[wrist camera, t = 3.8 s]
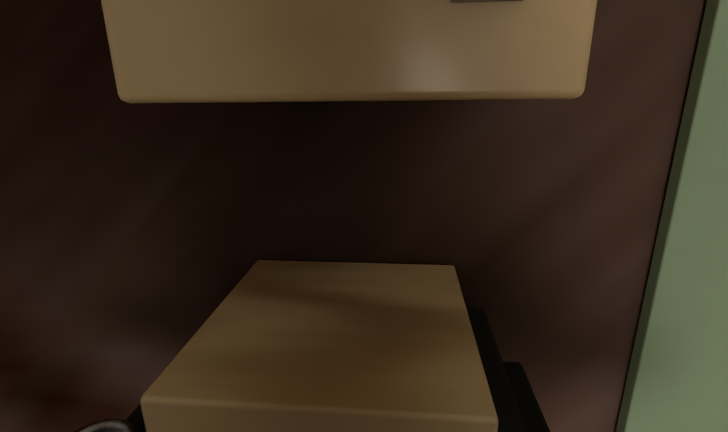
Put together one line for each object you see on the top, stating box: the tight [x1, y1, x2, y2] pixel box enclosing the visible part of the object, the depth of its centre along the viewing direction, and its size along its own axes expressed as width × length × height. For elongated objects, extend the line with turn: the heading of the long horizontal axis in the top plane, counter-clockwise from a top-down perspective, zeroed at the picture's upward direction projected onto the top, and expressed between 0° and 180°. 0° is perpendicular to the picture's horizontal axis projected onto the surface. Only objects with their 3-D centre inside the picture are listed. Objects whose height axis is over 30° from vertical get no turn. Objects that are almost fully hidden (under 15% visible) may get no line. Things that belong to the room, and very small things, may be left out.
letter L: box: [140, 260, 499, 432], centre depth 9 cm, size 5×5×5 cm
